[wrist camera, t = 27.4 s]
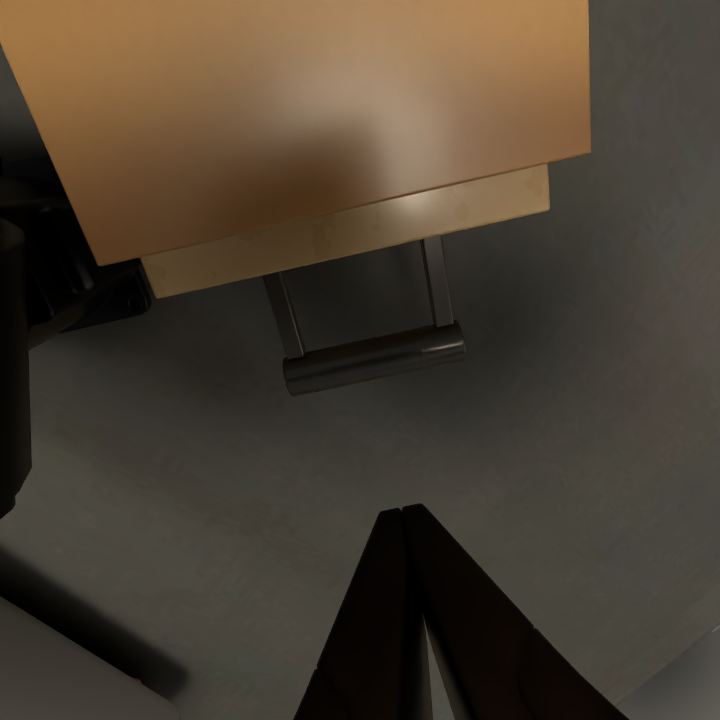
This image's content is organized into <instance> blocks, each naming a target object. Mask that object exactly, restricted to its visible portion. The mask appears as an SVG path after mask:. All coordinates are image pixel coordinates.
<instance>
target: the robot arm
mask: <svg viewBox="0 0 720 720" xmlns="http://www.w3.org/2000/svg"><path fill="white" fill-rule="evenodd" d="M140 263H141V262H140V259H139V258H135V259H131V260H127V261H122V262H118V263H114V264H109V265H105V266H98V265H97V262H96V260H95V258H94V256H93V253H92V251H91V249H90V247H89V244H88V242H87V240H86V237H85V235H84V233H83V231H82V228H81V226H80V224H79V222H78V219H77V217H76V215H75V212H74V210H73V208H72V206H71V203H70V201H69V199H68V196H67V194H66V192H65V190H64V187H63V185H62V183H61V181H60V178H59V176H58V174H57V171H56V169H55V167H54V165H53V162H52V160H51V158H50V155H49V154H47V155H43V156H39V157H35V158H31V159H27V160H23V161H18V162H14V163H10V164H6V165H2V154H0V519H1V518H3V517H4V516H5V515H6V514H7V513H8V512H9V511H11V510H12V509H13V507H14V506H15V495H16V494H17V493H18V492H19V491H20V489H21V487H22V485H23V483H24V481H25V479H26V477H27V475H28V474H29V472H30V470H31V468H32V459H31V425H30V390H29V355H28V351H29V350H31V349H32V348H34V347H36V346H37V345H39V344H41V343H42V342H44V341H46V340H47V339H49V338H51V337H52V336H54V335H56V334H58V333H63V332H67V331H71V330H76V329H80V328H85V327H89V326H94V325H98V324H103V323H107V322H111V321H116V320H120V319H125V318H129V317H134V316H138V315H141V314H144V313H145V312H146V311H148V310H149V308H150V307H151V299H150V296H149V294H148V291H147V289H146V286H145V284H144V281H143V279H142V276H141V274H140V272H139V269H138V268H139V266H140ZM133 298H137V299H139V300H140V301H141V303H142V306H141V307H138V306H136V305H135V304H134V303H133ZM423 616H424V617H423ZM424 620H425V623H424ZM425 625H426V629H427V632H428V636H429V639H430V643H431V646H432V649H433V652H434V655H435V658H436V662H437V665H438V668H439V671H440V674H441V677H442V680H443V684H444V687H445V690H446V693H447V696H448V699H449V702H450V705H451V709H452V712H453V715H454V718H455V720H629V719H628V718H627V717H626V716H625V715H624V714H622V713H621V712H620V711H619V710H618V709H617V708H616V707H615V706H613V705H612V704H611V703H610V702H609V701H608V700H607V699H606V698H605V697H604V696H603V695H602V694H601V693H599V692H598V691H597V690H596V689H595V688H594V687H593V686H592V685H591V684H590V683H589V682H588V681H587V680H585V679H584V678H583V677H582V676H581V675H580V674H579V673H578V672H577V671H576V670H575V669H574V668H573V667H572V666H571V665H570V664H569V662H568V661H567V660H566V659H565V658H564V657H563V656H562V655H561V654H560V653H559V652H558V651H557V650H556V649H555V648H554V647H553V646H552V645H551V644H550V643H549V642H548V640H547V639H546V638H545V637H544V636H543V635H542V634H541V633H540V632H539V631H538V629H536V628H534V626H533V624H532V623H531V622H530V621H529V620H528V619H527V618H526V617H525V616H524V614H523V613H522V612H521V611H520V610H519V609H518V608H517V607H516V606H515V605H514V603H513V602H512V601H511V600H510V599H509V598H508V597H507V596H506V595H505V594H504V592H503V591H502V590H501V589H500V588H499V587H498V586H497V585H496V584H495V583H494V581H493V580H492V579H491V578H490V577H489V576H488V575H487V574H486V573H485V572H484V571H483V569H482V568H481V567H480V566H479V565H478V564H477V563H476V562H475V561H474V560H473V558H472V557H471V556H470V555H469V554H468V553H467V552H466V551H465V550H464V549H463V547H462V546H461V545H460V544H459V543H458V542H457V541H456V540H455V539H454V538H453V537H452V535H451V534H450V533H449V532H448V531H447V530H446V529H445V528H444V527H443V526H442V524H441V523H440V522H439V521H438V520H437V519H436V518H435V517H434V516H433V515H432V513H431V512H430V511H429V510H428V509H427V508H426V507H425V506H424V505H423V504H420V503H419V504H414V505H409V506H404V507H403V508H402V511H401V509H399V508H394V509H389V510H384V511H381V512H380V513H379V515H378V517H377V519H376V522H375V524H374V527H373V529H372V532H371V534H370V536H369V539H368V541H367V544H366V546H365V549H364V551H363V553H362V556H361V558H360V561H359V563H358V566H357V568H356V570H355V573H354V575H353V578H352V580H351V583H350V585H349V588H348V590H347V592H346V595H345V597H344V600H343V602H342V605H341V607H340V609H339V612H338V614H337V617H336V619H335V622H334V624H333V627H332V629H331V631H330V634H329V636H328V639H327V641H326V644H325V646H324V648H323V651H322V653H321V656H320V658H319V661H318V663H317V669H315V670H314V672H313V675H312V677H311V680H310V682H309V685H308V687H307V689H306V692H305V694H304V696H303V699H302V701H301V703H300V705H299V708H298V710H297V712H296V714H295V717H294V719H293V720H433V713H432V700H431V687H430V675H429V662H428V649H427V639H426V629H425Z"/></svg>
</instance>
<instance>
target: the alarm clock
mask: <svg viewBox="0 0 720 720" xmlns="http://www.w3.org/2000/svg"><path fill="white" fill-rule="evenodd" d="M0 720H180V719H179V715H178V711H177V707H176V705H175V704H173V703H171V702H170V701H168V700H166V699H165V698H163V697H162V696H160V695H158V694H157V693H155V692H154V691H152V690H150V689H149V688H147V687H146V686H144V685H142V684H141V681H140V680H139V679H137V678H131V677H129V676H128V675H126V674H125V673H123V672H121V671H120V670H118V669H117V668H115V667H113V666H112V665H110V664H109V663H107V662H105V661H104V660H102V659H100V658H99V657H97V656H96V655H94V654H92V653H91V652H89V651H88V650H86V649H84V648H83V647H81V646H80V645H78V644H76V643H75V642H73V641H72V640H70V639H68V638H67V637H65V636H63V635H62V634H60V633H59V632H57V631H55V630H54V629H52V628H51V627H49V626H47V625H46V624H44V623H43V622H41V621H39V620H38V619H36V618H35V617H33V616H31V615H30V614H28V613H26V612H25V611H23V610H22V609H20V608H18V607H17V606H15V605H14V604H12V603H10V602H9V601H7V600H6V599H4V598H2V597H1V596H0Z"/></svg>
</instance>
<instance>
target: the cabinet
mask: <svg viewBox="0 0 720 720" xmlns="http://www.w3.org/2000/svg"><path fill="white" fill-rule="evenodd" d="M0 44H1V46H2V48H3V51H4V53H5V55H6V58H7V60H8V62H9V64H10V67H11V69H12V71H13V73H14V76H15V78H16V80H17V83H18V85H19V87H20V89H21V92H22V94H23V96H24V99H25V101H26V103H27V105H28V108H29V110H30V112H31V114H32V117H33V119H34V121H35V124H36V126H37V128H38V130H39V133H40V135H41V137H42V140H43V142H44V144H45V146H46V149H47V151H48V153H49V155H50V158H51V160H52V162H53V165H54V167H55V169H56V171H57V174H58V176H59V178H60V181H61V183H62V185H63V187H64V190H65V192H66V194H67V196H68V199H69V201H70V203H71V206H72V208H73V210H74V212H75V215H76V217H77V219H78V222H79V224H80V226H81V228H82V231H83V233H84V235H85V237H86V240H87V242H88V244H89V247H90V249H91V251H92V253H93V256H94V258H95V260H96V262H97V265H98V266H105V265H109V264H114V263H118V262H122V261H127V260H131V259H135V258H140V257H144V256H148V255H153V254H157V253H161V252H166V251H170V250H174V249H179V248H183V247H187V246H192V245H196V244H200V243H205V242H209V241H213V240H218V239H222V238H226V237H231V236H235V235H239V234H244V233H248V232H252V231H257V230H261V229H265V228H270V227H274V226H278V225H283V224H287V223H291V222H296V221H300V220H304V219H309V218H313V217H317V216H322V215H326V214H330V213H335V212H339V211H343V210H348V209H352V208H356V207H361V206H365V205H369V204H374V203H378V202H382V201H387V200H391V199H395V198H400V197H404V196H408V195H413V194H417V193H421V192H426V191H430V190H434V189H439V188H443V187H447V186H452V185H456V184H460V183H465V182H469V181H473V180H478V179H482V178H486V177H491V176H495V175H499V174H504V173H508V172H512V171H517V170H521V169H525V168H530V167H534V166H538V165H543V164H547V163H551V162H556V161H560V160H564V159H569V158H573V157H577V156H582V155H586V154H589V153H590V152H591V124H590V70H589V16H588V0H0Z"/></svg>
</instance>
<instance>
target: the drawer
mask: <svg viewBox="0 0 720 720" xmlns="http://www.w3.org/2000/svg"><path fill="white" fill-rule="evenodd" d="M549 208H550V201H549V182H548V164H543V165H538V166H534V167H530V168H525V169H521V170H517V171H512V172H508V173H504V174H499V175H495V176H491V177H486V178H482V179H478V180H473V181H469V182H465V183H460V184H456V185H452V186H447V187H443V188H439V189H434V190H430V191H426V192H421V193H417V194H413V195H408V196H404V197H400V198H395V199H391V200H387V201H382V202H378V203H374V204H369V205H365V206H361V207H356V208H352V209H348V210H343V211H339V212H335V213H330V214H326V215H322V216H317V217H313V218H309V219H304V220H300V221H296V222H291V223H287V224H283V225H278V226H274V227H270V228H265V229H261V230H257V231H252V232H248V233H244V234H239V235H235V236H231V237H226V238H222V239H218V240H213V241H209V242H205V243H200V244H196V245H192V246H187V247H183V248H179V249H174V250H170V251H166V252H161V253H157V254H153V255H148V256H144V257H140V259H141V262H142V264H143V267H144V269H145V272H146V274H147V277H148V279H149V282H150V284H151V287H152V289H153V292H154V294H155V297H156V298H164V297H169V296H173V295H178V294H182V293H186V292H191V291H195V290H200V289H204V288H209V287H213V286H217V285H222V284H226V283H231V282H235V281H240V280H244V279H248V278H253V277H257V276H262V277H263V280H264V283H265V287H266V290H267V293H268V297H269V300H270V303H271V306H272V310H273V313H274V316H275V320H276V323H277V326H278V330H279V333H280V336H281V340H282V343H283V346H284V350H285V353H286V357H284V358H283V373H284V378H285V382H286V386H287V389H288V391H289V393H290V395H291V396H293V397H295V396H299V395H304V394H309V393H314V392H318V391H323V390H328V389H332V388H337V387H342V386H346V385H351V384H356V383H360V382H365V381H370V380H374V379H379V378H384V377H388V376H393V375H398V374H403V373H407V372H412V371H417V370H421V369H426V368H431V367H435V366H440V365H445V364H449V363H454V362H459V361H463V360H465V359H466V345H465V339H464V335H463V331H462V328H461V326H460V324H459V322H458V321H457V320H453V313H452V306H451V299H450V292H449V285H448V279H447V272H446V265H445V258H444V251H443V244H442V237H441V235H443V234H447V233H452V232H456V231H461V230H465V229H470V228H474V227H478V226H483V225H487V224H492V223H496V222H501V221H505V220H509V219H514V218H518V217H523V216H527V215H531V214H536V213H540V212H545V211H547V210H549ZM416 240H420V245H421V251H422V257H423V263H424V269H425V276H426V282H427V288H428V294H429V300H430V306H431V313H432V319H433V322H434V324H433V325H429V326H424V327H420V328H415V329H410V330H406V331H401V332H397V333H392V334H387V335H383V336H378V337H374V338H369V339H364V340H360V341H355V342H351V343H346V344H341V345H337V346H332V347H328V348H323V349H318V350H314V351H309V352H305V350H306V349H305V345H304V342H303V338H302V335H301V331H300V328H299V324H298V321H297V317H296V314H295V310H294V306H293V303H292V299H291V296H290V292H289V289H288V285H287V282H286V278H285V275H284V270H288V269H293V268H297V267H301V266H306V265H310V264H315V263H319V262H324V261H328V260H332V259H337V258H341V257H346V256H350V255H355V254H359V253H363V252H368V251H372V250H377V249H381V248H386V247H390V246H394V245H399V244H403V243H408V242H412V241H416Z"/></svg>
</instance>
